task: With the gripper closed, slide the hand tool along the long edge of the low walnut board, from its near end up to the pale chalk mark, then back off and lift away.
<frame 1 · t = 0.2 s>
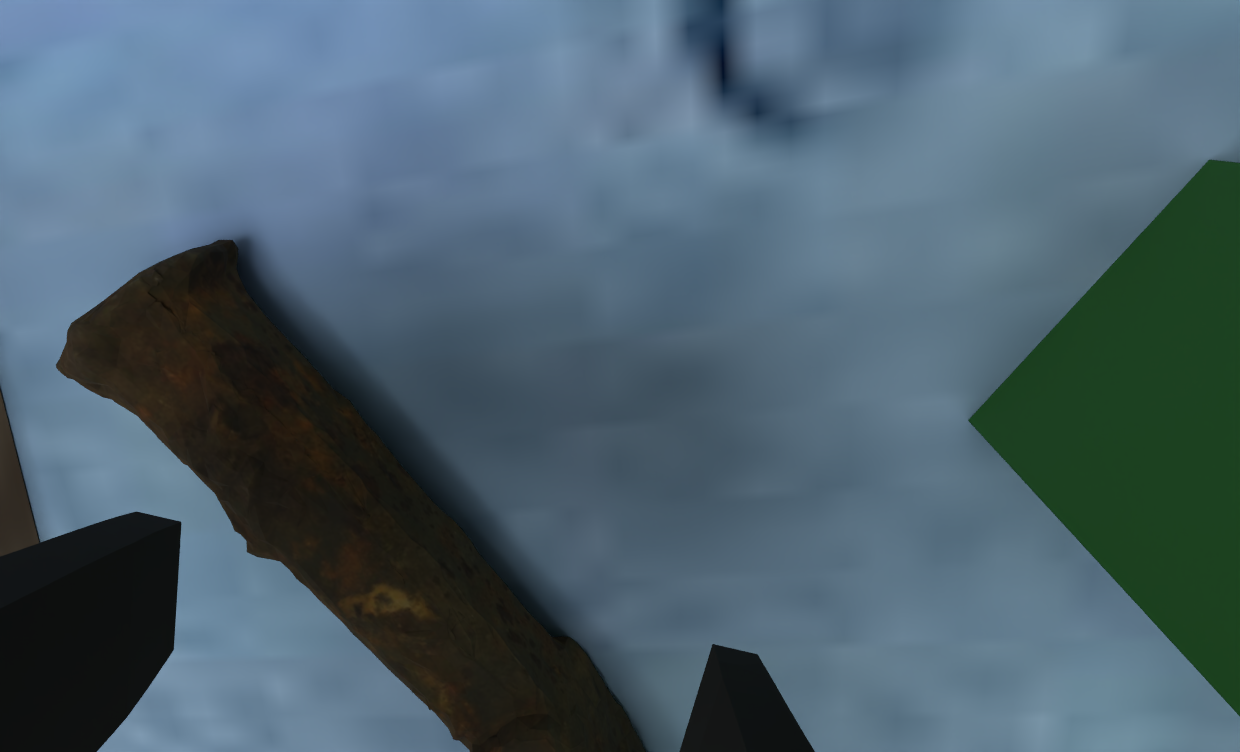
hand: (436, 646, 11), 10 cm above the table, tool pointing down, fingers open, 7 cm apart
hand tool: (459, 534, 22), on the table
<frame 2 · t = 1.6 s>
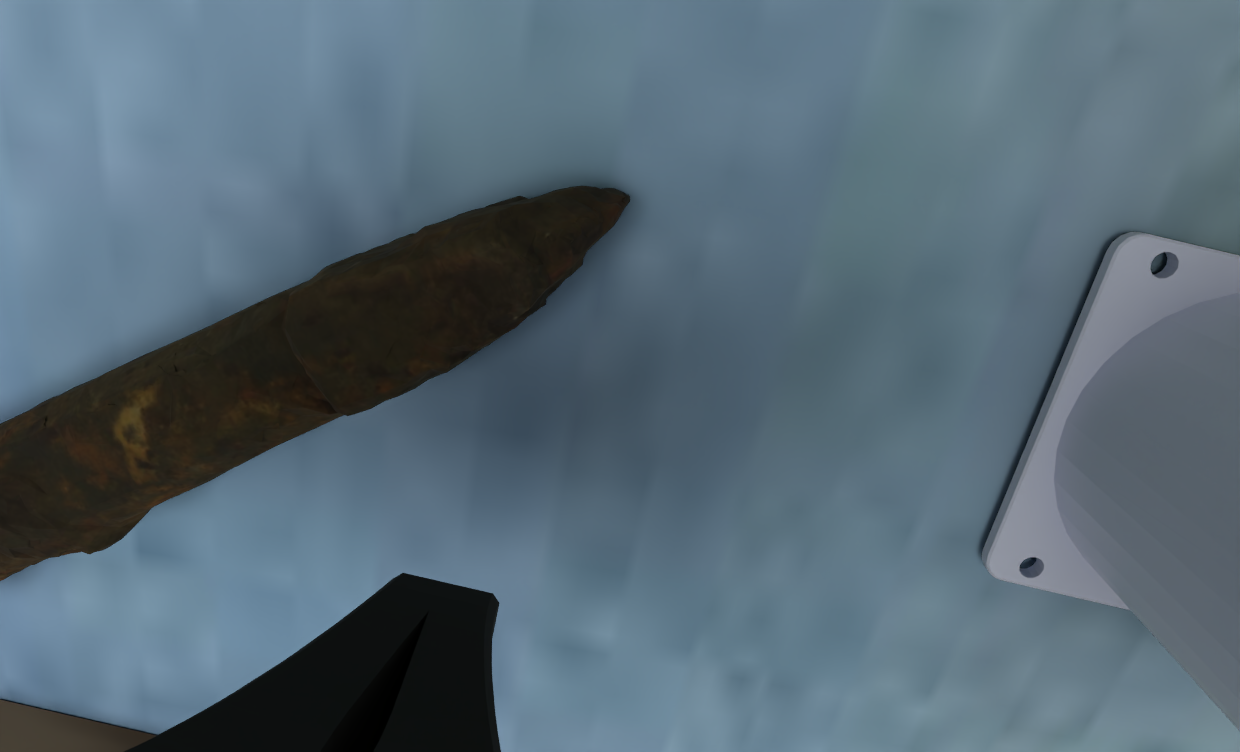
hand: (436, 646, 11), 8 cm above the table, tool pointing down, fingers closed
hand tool: (250, 348, 19), on the table
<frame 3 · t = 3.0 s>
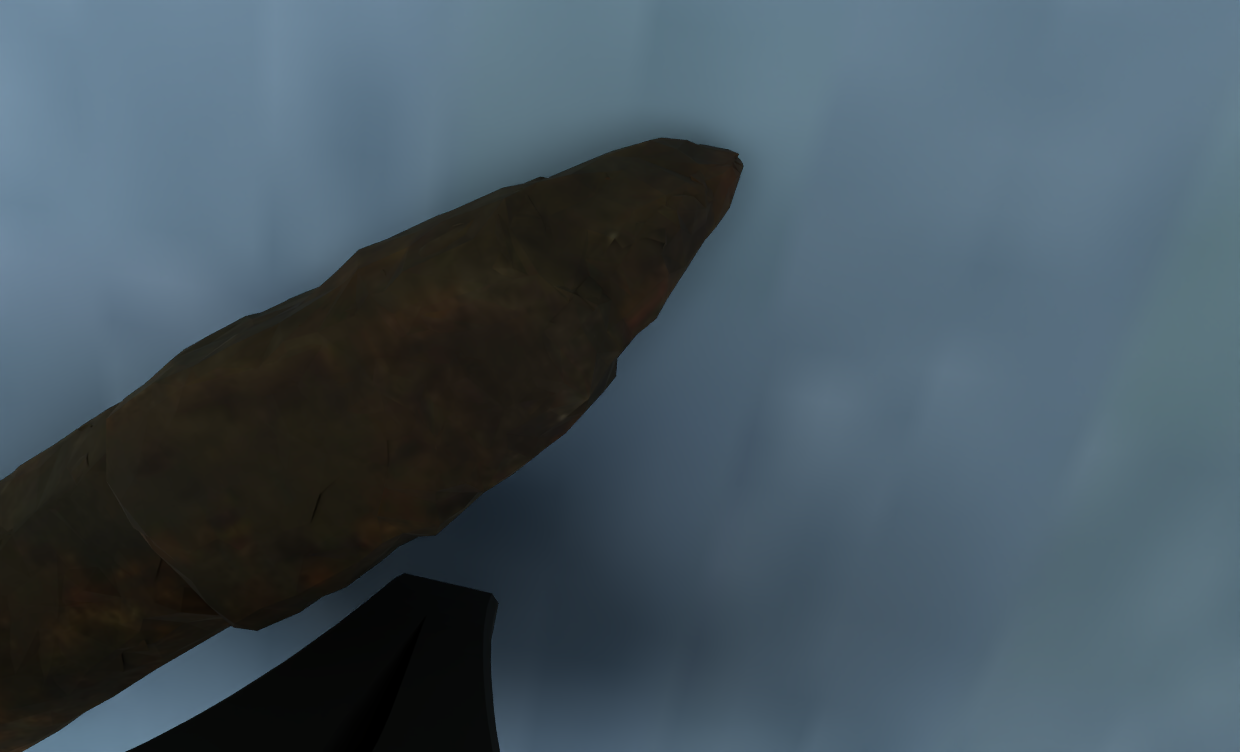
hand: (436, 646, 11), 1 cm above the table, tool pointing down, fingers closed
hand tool: (141, 473, 12), on the table, touching gripper
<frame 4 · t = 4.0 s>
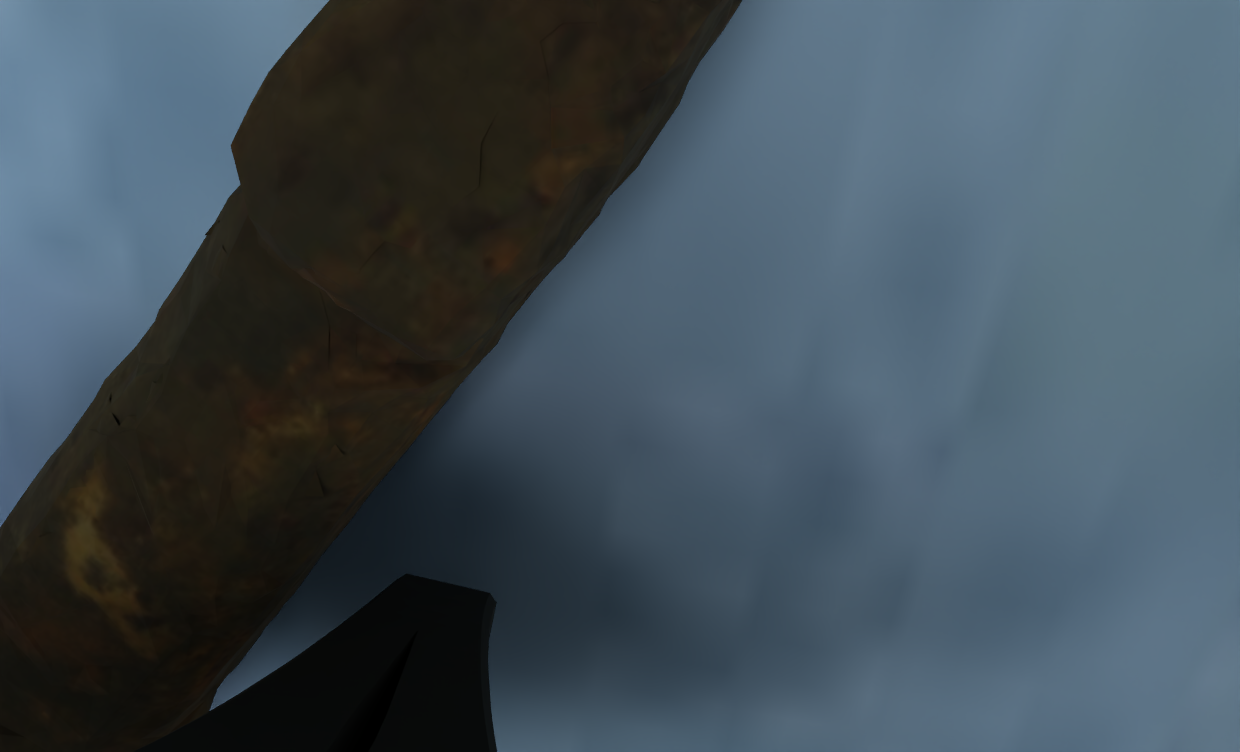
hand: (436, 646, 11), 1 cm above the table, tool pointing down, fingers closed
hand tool: (282, 380, 12), on the table
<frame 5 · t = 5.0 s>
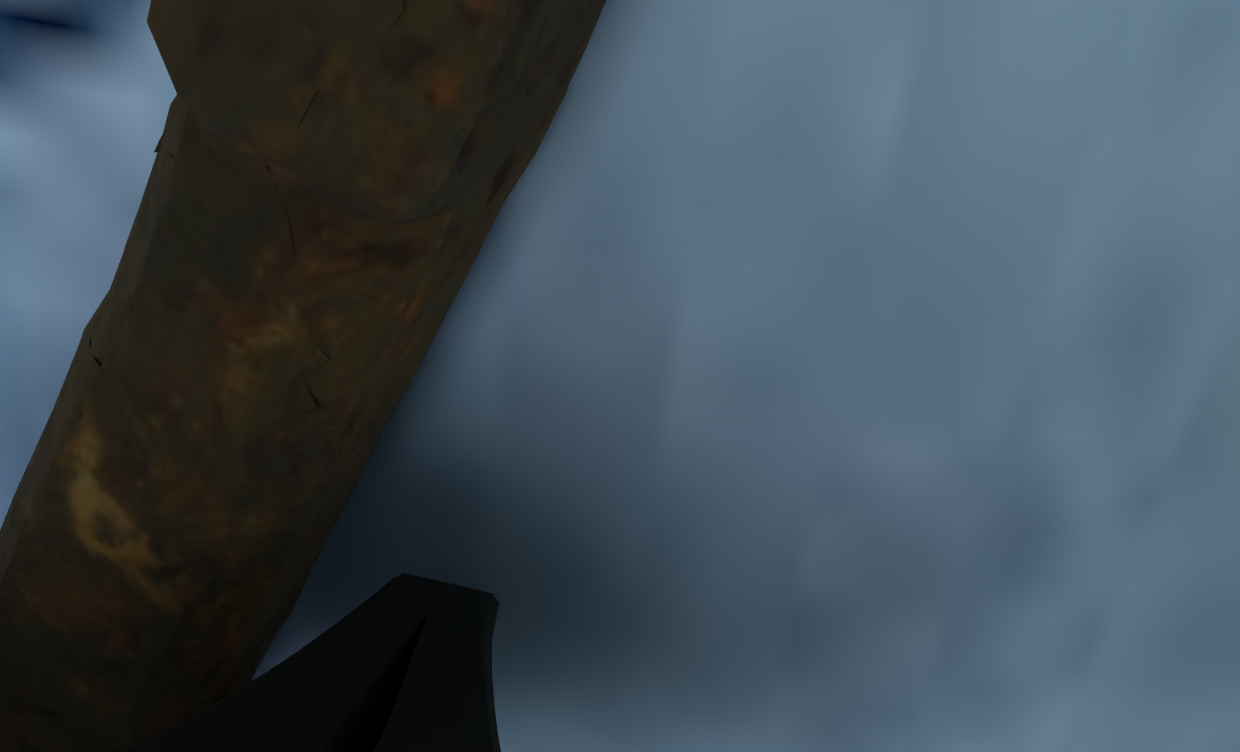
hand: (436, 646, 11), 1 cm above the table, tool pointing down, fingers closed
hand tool: (284, 342, 11), on the table
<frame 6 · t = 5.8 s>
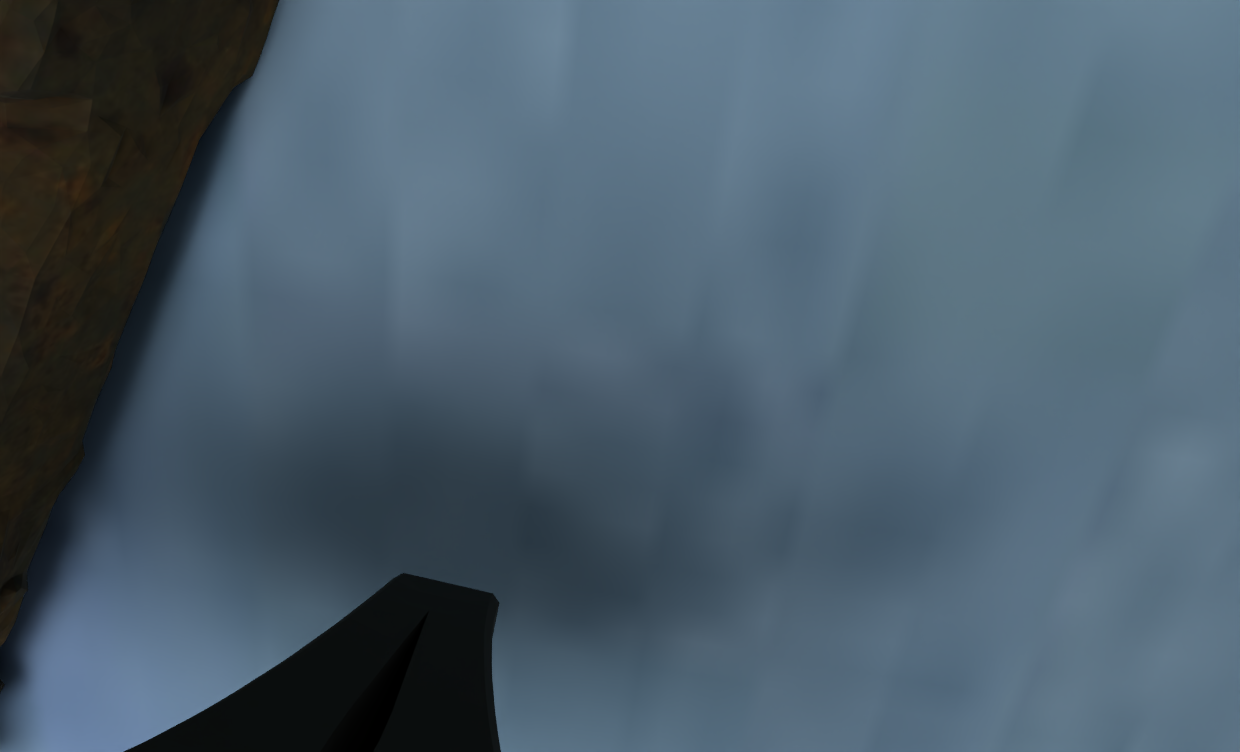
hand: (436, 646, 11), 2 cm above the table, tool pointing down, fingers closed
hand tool: (61, 256, 13), on the table
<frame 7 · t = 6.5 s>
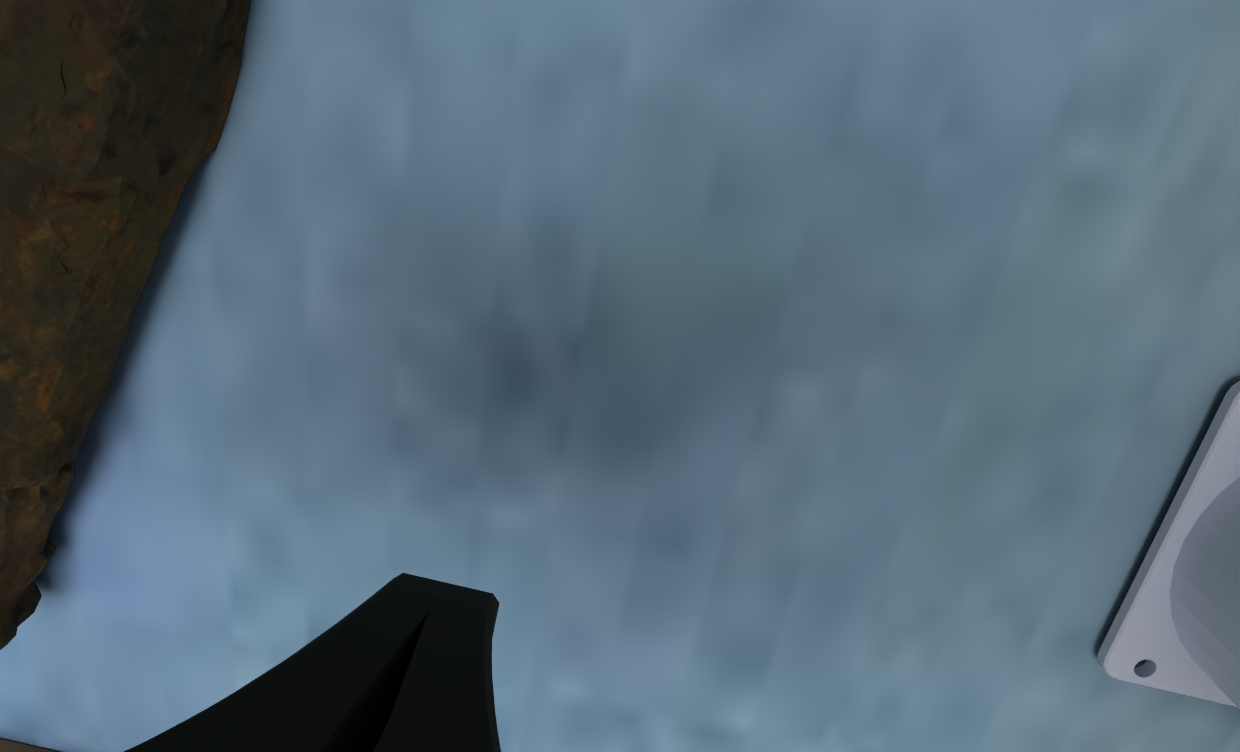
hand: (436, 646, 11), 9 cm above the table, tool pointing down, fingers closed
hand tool: (95, 261, 20), on the table
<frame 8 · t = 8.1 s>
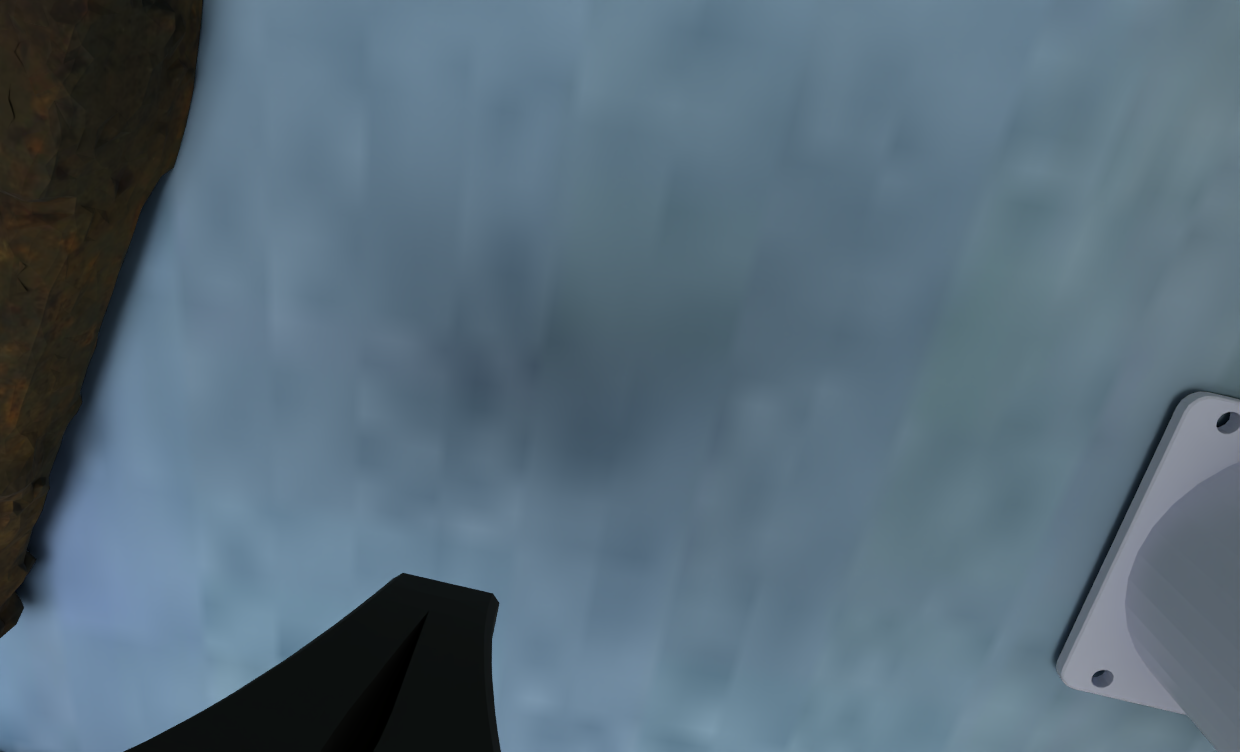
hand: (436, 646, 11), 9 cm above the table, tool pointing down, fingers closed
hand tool: (63, 279, 20), on the table
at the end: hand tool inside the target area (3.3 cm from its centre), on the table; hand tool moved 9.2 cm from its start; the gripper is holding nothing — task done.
